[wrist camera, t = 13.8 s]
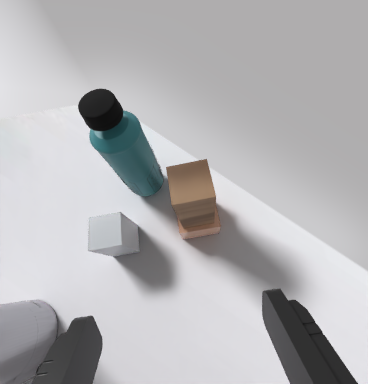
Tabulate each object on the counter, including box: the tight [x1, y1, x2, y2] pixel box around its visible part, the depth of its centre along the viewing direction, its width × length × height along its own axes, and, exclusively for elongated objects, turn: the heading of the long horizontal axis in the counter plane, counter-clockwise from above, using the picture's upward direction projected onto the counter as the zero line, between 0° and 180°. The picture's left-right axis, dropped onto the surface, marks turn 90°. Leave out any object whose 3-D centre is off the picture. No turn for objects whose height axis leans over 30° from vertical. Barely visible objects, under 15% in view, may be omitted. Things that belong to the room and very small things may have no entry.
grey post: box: [88, 212, 140, 257], centre depth 31 cm, size 4×4×8 cm
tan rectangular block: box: [166, 159, 216, 229], centre depth 26 cm, size 4×4×10 cm
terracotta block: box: [177, 204, 221, 239], centre depth 33 cm, size 6×6×5 cm
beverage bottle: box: [78, 89, 163, 196], centre depth 29 cm, size 6×7×20 cm
